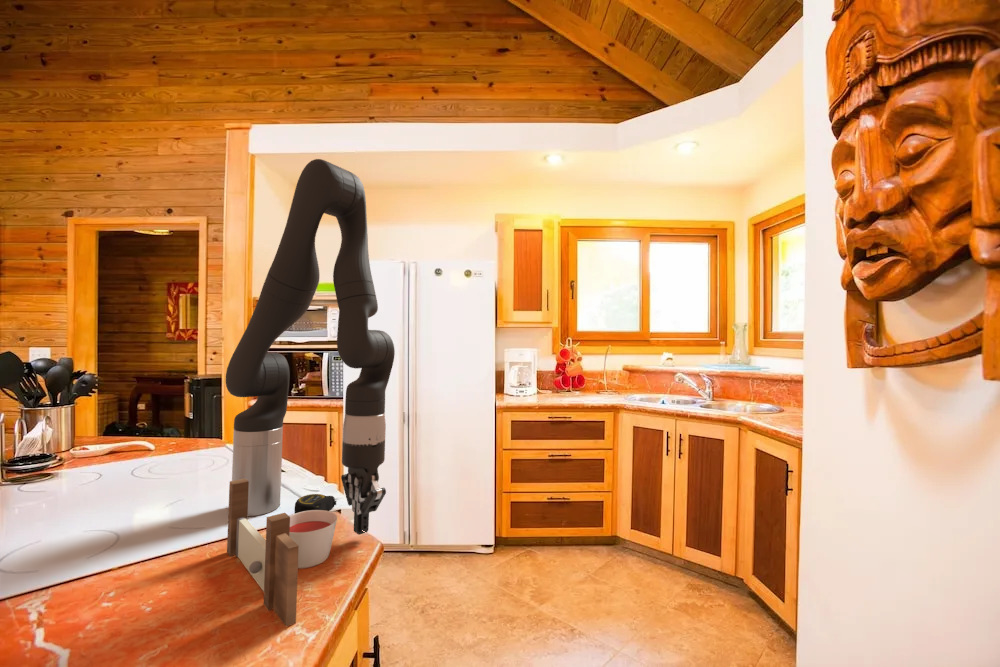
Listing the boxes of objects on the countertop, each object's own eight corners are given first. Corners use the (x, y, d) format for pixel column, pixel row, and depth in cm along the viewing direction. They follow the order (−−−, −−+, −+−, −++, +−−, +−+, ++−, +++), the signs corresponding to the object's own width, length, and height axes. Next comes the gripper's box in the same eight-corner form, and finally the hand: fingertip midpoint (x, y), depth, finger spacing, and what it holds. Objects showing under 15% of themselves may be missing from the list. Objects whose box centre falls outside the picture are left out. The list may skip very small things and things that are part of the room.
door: (225, 557, 71) (226, 520, 71) (242, 552, 73) (244, 515, 73) (253, 599, 60) (255, 554, 60) (273, 592, 62) (275, 548, 62)
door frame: (226, 551, 73) (229, 481, 74) (242, 547, 75) (245, 478, 75) (281, 629, 55) (284, 534, 55) (300, 620, 56) (303, 528, 57)
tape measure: (318, 525, 85) (319, 506, 85) (286, 522, 86) (287, 503, 86) (336, 511, 92) (337, 494, 92) (306, 508, 93) (307, 491, 93)
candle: (277, 578, 66) (279, 537, 66) (276, 552, 74) (277, 515, 74) (339, 565, 70) (341, 526, 71) (332, 541, 78) (333, 506, 78)
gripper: (328, 434, 81) (325, 526, 81) (362, 448, 72) (359, 552, 72) (365, 429, 87) (362, 515, 86) (401, 441, 77) (398, 538, 77)
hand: (361, 532), depth 79 cm, fingers closed
